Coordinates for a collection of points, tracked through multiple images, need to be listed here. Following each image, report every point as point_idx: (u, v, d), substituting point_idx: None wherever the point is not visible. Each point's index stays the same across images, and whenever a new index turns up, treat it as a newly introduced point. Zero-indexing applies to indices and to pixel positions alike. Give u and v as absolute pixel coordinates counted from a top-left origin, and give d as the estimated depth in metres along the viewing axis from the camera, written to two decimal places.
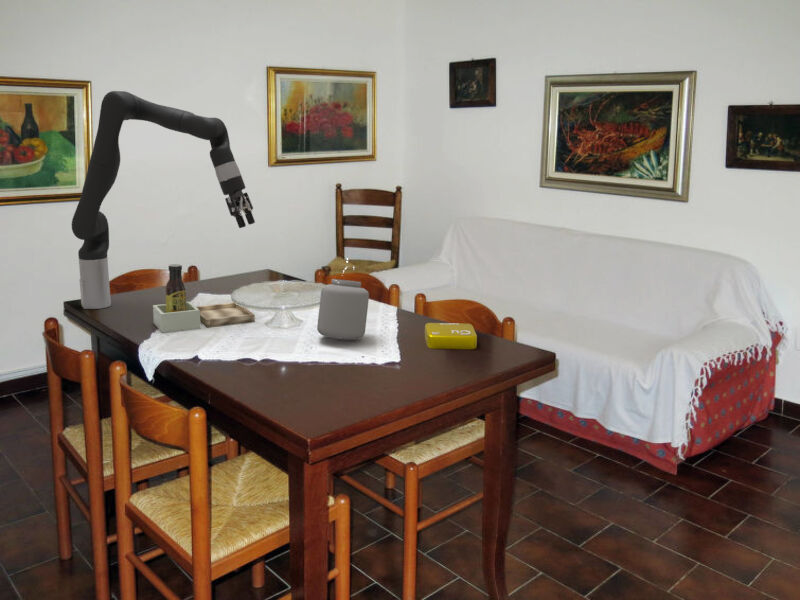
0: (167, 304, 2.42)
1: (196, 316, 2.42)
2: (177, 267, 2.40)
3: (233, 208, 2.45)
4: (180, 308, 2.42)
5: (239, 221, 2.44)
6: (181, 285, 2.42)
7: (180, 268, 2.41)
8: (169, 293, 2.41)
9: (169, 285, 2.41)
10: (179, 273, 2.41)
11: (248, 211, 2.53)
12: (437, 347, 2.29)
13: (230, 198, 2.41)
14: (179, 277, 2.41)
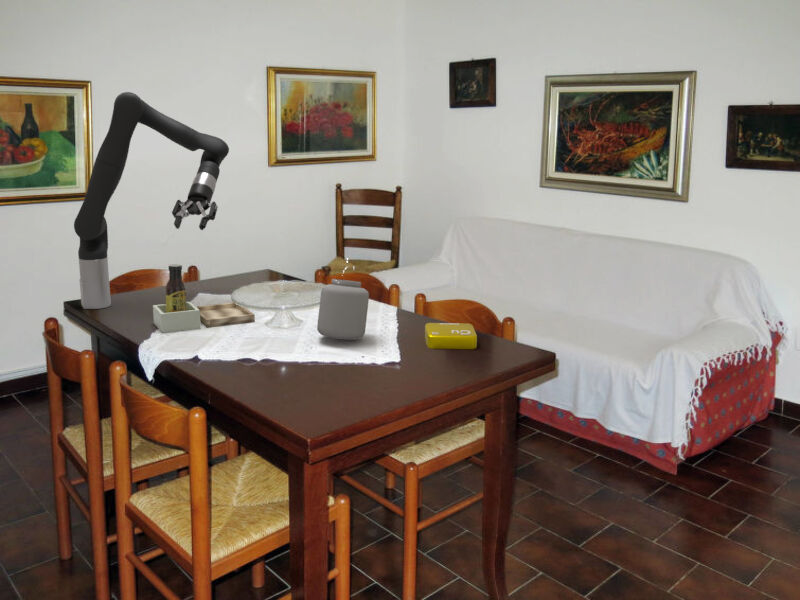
0: (167, 304, 2.42)
1: (196, 316, 2.42)
2: (177, 267, 2.40)
3: (204, 210, 2.51)
4: (180, 308, 2.42)
5: (205, 223, 2.50)
6: (181, 285, 2.42)
7: (180, 268, 2.41)
8: (169, 293, 2.41)
9: (169, 285, 2.41)
10: (179, 273, 2.41)
11: (181, 217, 2.53)
12: (437, 347, 2.29)
13: (216, 206, 2.54)
14: (179, 277, 2.41)
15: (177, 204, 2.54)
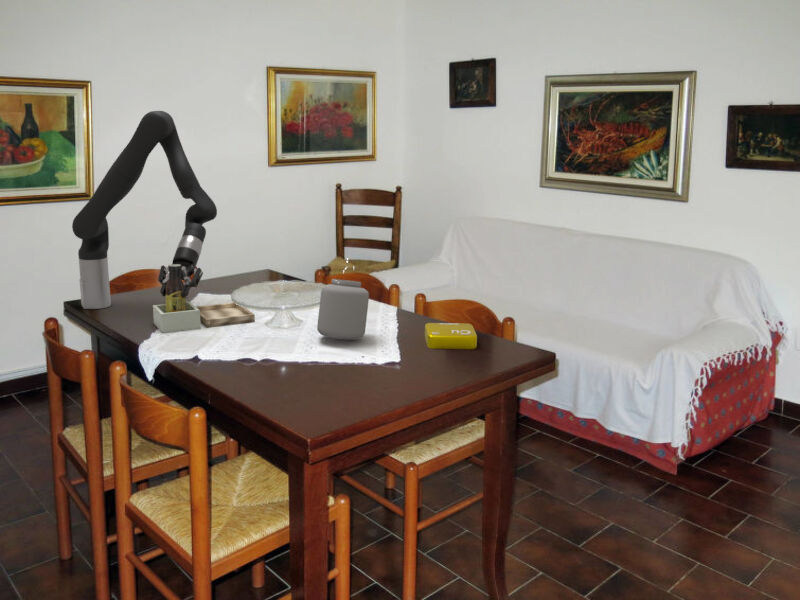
0: (167, 304, 2.42)
1: (196, 316, 2.42)
2: (176, 267, 2.40)
3: (187, 277, 2.44)
4: (180, 308, 2.42)
5: (188, 291, 2.42)
6: (181, 285, 2.42)
7: (180, 268, 2.41)
8: (169, 293, 2.41)
9: (169, 285, 2.41)
10: (179, 273, 2.41)
11: None
12: (437, 347, 2.29)
13: (202, 272, 2.46)
14: (179, 277, 2.41)
15: (162, 270, 2.46)
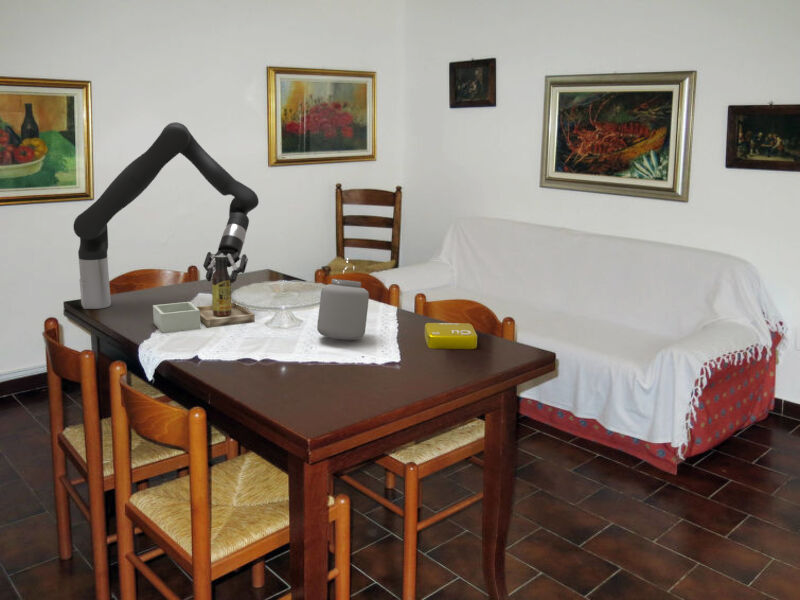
0: (213, 293, 2.52)
1: (196, 316, 2.42)
2: (223, 257, 2.51)
3: (234, 263, 2.53)
4: (226, 297, 2.52)
5: (236, 276, 2.52)
6: (227, 275, 2.52)
7: (226, 259, 2.52)
8: (216, 282, 2.51)
9: (215, 275, 2.51)
10: (225, 263, 2.52)
11: (212, 270, 2.55)
12: (438, 347, 2.29)
13: (247, 258, 2.56)
14: (225, 267, 2.52)
15: (208, 256, 2.56)
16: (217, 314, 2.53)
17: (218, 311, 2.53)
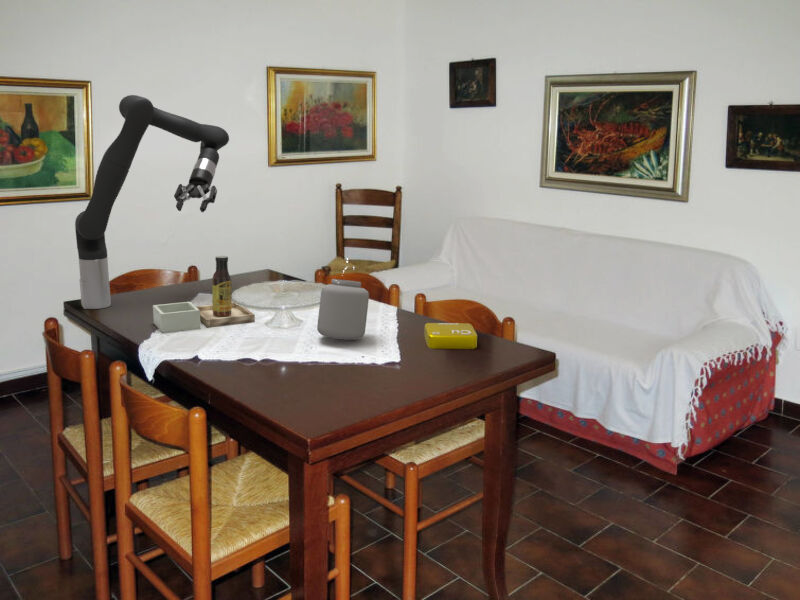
0: (214, 294, 2.52)
1: (196, 316, 2.42)
2: (223, 258, 2.50)
3: (204, 194, 2.66)
4: (226, 298, 2.52)
5: (206, 206, 2.65)
6: (227, 276, 2.52)
7: (226, 259, 2.51)
8: (216, 283, 2.51)
9: (216, 276, 2.51)
10: (225, 264, 2.51)
11: (182, 200, 2.68)
12: (438, 347, 2.29)
13: (216, 190, 2.69)
14: (225, 268, 2.51)
15: (179, 188, 2.69)
16: (217, 314, 2.53)
17: (218, 311, 2.53)
